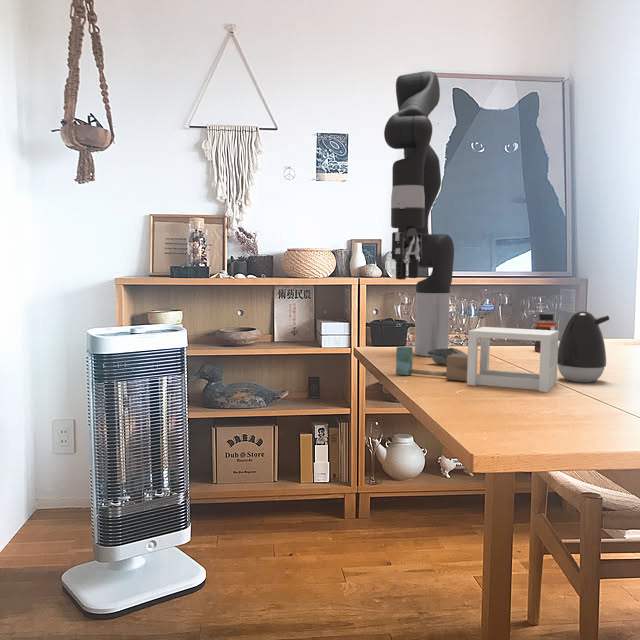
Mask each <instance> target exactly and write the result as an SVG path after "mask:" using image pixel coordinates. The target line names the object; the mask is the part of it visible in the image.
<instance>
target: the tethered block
mask: <svg viewBox="0 0 640 640" xmlns="http://www.w3.org/2000/svg"><path fill="white" fill-rule="evenodd" d="M413 349H414V347H413V346H402V345H401V346H398V347H396V352H395V353H396V360H395V375H402V376H409V375H412V374H414V375H421V376H422V375H425V376H434V377H435V376H436V377H444V378H445V380H450V381H451V380H452V381H463V382H467V365H468V354H467V355H463V354H452V355H449V356H447V365H446V370H445V371H438V370H428V369H427V370H424V369H414V368H413V358H414V357H413V354H414V353H413V351H414V350H413Z"/></svg>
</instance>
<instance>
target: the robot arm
mask: <svg viewBox="0 0 640 640" xmlns="http://www.w3.org/2000/svg"><path fill="white" fill-rule="evenodd" d="M395 94H396V95H395V96H396V103H397V109H398V111H396V113H393V114H392V115H391V116H390V117H389V119H388V120H387V121H386V123H385V126H384V129H383V130H384V132H383V137H384V141H385V143H386V144H387V146H388V147H390V148H391V149H394V150H403V155H404V156H403V158H401V159H398V160H395V161H394V162H393V165H392V171H391V173H392V177H391V178H392V179H391V180H392V181H391V182H392V186H391V187H392V188H391V196H390V227H391V228H392V229H397V231H393V232H392V233H391V260H393V261H394V263H395V279H396V280H400V281H401V280H406V279H407V276H408V278H409V279H418V278H419V268H423V269H424V268H425V269H426V268H427V269H432V270H431V273H430V275H429V276H428V277H426V278H424V279H422V280H419V281H418V282H416V285H415V321H414V350H413V351H414V353H413V354H414V355H416V356H422V357H431V356H430V355H429V354H428V351H431V350H434V349H446V348H449V342H450V341H449V340H450V339H449V338H450V336H449V335H450V333H449V332H450V331H449V330H450V300H451V297H450V296H451V287H452V286H451V285H452V282H453V271H454V260H455V246H454V241H453V238H452V237H451V236H450V235H449V234H446V233H429V215H430V213H431V209H432V208H433V205H434V203H435V201H436V198H437V196H438V194H439V192H440V189H441V187H442V175H441V164H440V159H439V156H438V155H437V153H436V151H435V150H434V149H433V147H432V146H431V145H430V143H431V140H432V136H433V124H432V121H431V120H430V119H429V116H430V114H431V113H432V112H433V111H434V109H435V108H436V107H437V106H438V104H439V101H440V98H441V97H440V94H441V89H440V82H439V77H438V76H437V74H436V72H433V71H431V70H430V71H429V70H426V71H425V70H424V71H421V72H419V71H418V72H413V73H407V74H400V75H399V76H397V78H396V81H395ZM407 260H408V262H407ZM407 263H408V265H407ZM407 266H408V268H407ZM407 269H408V271H407ZM407 273H408V275H407Z"/></svg>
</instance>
